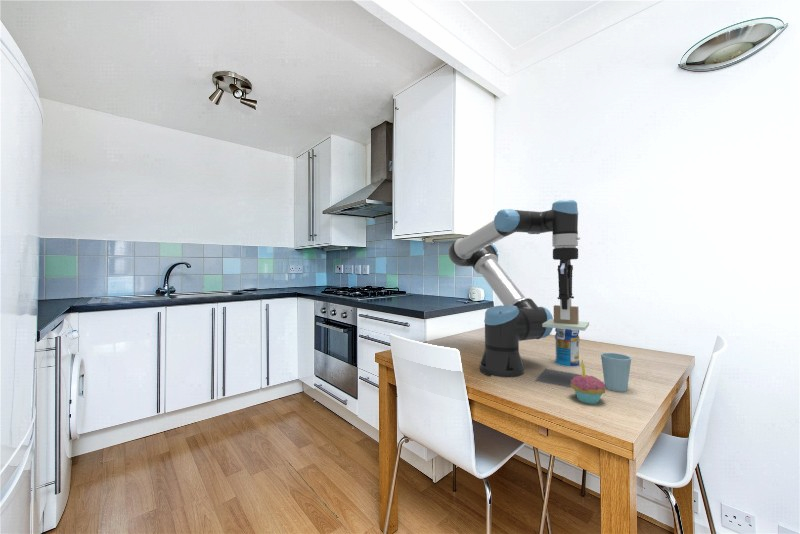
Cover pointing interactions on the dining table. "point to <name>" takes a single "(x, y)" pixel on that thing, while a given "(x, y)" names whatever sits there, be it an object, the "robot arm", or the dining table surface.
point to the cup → (616, 371)
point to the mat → (556, 377)
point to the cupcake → (587, 387)
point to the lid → (566, 324)
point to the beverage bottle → (567, 347)
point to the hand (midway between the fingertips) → (566, 318)
